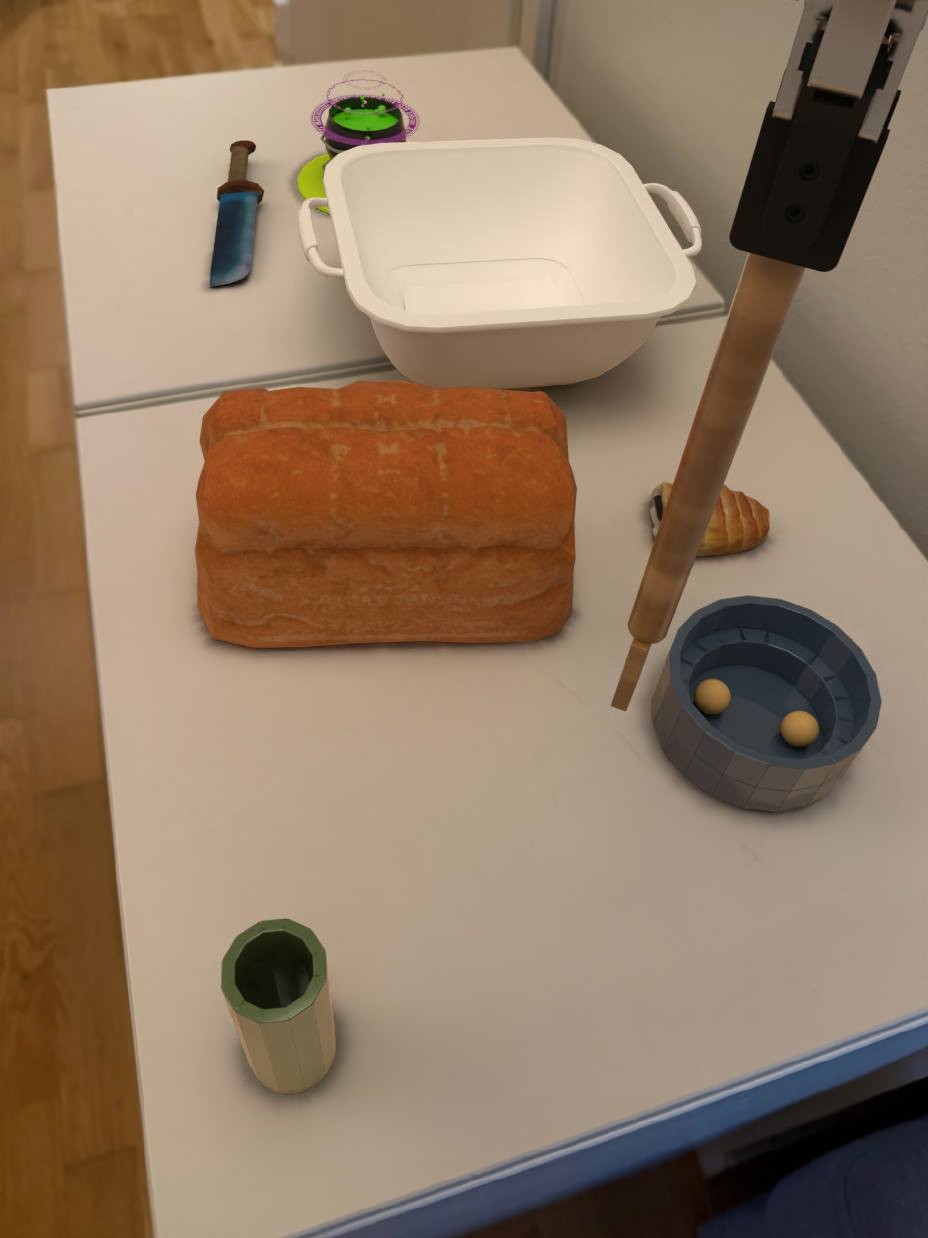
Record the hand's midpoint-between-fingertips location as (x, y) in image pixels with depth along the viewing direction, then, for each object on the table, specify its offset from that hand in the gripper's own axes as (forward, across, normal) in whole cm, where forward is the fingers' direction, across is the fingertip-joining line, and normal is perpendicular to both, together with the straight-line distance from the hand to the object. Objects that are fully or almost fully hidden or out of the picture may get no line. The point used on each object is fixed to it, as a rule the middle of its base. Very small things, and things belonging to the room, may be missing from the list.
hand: (790, 230), depth 30 cm
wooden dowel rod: (+25, 0, 0) cm, 25 cm away
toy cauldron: (+42, +66, +46) cm, 91 cm away
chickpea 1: (+40, +13, -5) cm, 42 cm away
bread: (+42, +15, +20) cm, 48 cm away
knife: (+42, +53, +54) cm, 86 cm away
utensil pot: (+41, -18, +10) cm, 46 cm away
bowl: (+41, +13, -8) cm, 44 cm away
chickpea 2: (+40, +13, -11) cm, 43 cm away
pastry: (+42, +30, 0) cm, 51 cm away
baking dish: (+42, +46, +23) cm, 66 cm away
